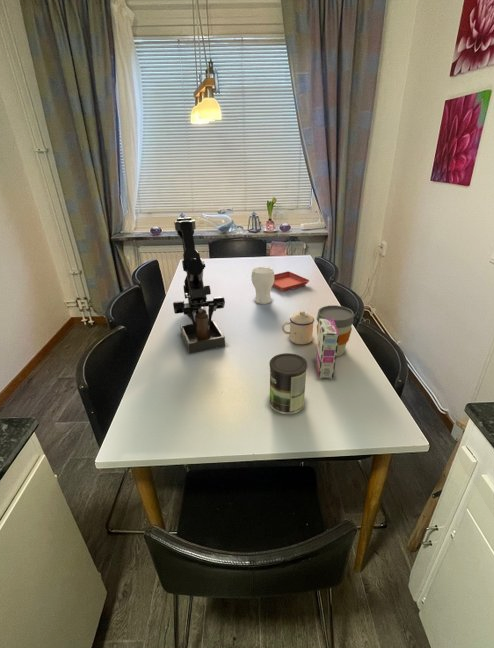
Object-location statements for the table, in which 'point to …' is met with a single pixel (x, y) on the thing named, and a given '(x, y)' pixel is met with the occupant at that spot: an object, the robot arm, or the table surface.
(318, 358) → the candy bar box
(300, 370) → the coffee can
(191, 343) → the dark grey tray
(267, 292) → the white vase
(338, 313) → the reusable coffee cup
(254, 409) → the table surface
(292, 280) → the plant saucer
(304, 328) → the teacup with lid
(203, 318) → the pepper mill
